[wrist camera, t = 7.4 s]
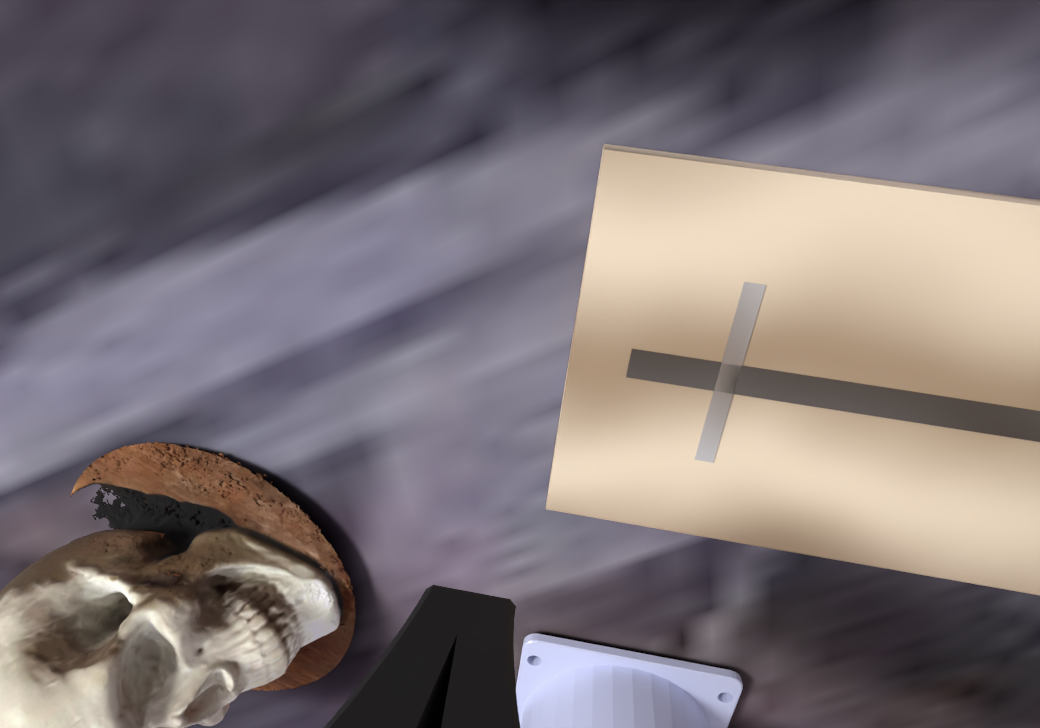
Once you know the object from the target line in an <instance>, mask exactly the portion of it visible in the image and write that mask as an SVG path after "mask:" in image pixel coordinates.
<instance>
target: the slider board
mask: <svg viewBox="0 0 1040 728" xmlns="http://www.w3.org/2000/svg"><path fill="white" fill-rule="evenodd" d="M546 509H548V510H554V511H560V512H565V513H571V514H577V515H582V516H588V517H594V518H600V519H605V520H611V521H617V522H623V523H628V524H634V525H640V526H646V527H651V528H657V529H663V530H668V531H674V532H680V533H686V534H691V535H697V536H703V537H709V538H714V539H720V540H726V541H731V542H737V543H743V544H749V545H754V546H760V547H766V548H772V549H777V550H783V551H789V552H795V553H800V554H806V555H812V556H817V557H823V558H829V559H835V560H840V561H846V562H852V563H858V564H863V565H869V566H875V567H880V568H886V569H892V570H898V571H903V572H909V573H915V574H921V575H926V576H932V577H938V578H944V579H949V580H955V581H961V582H966V583H972V584H978V585H984V586H989V587H995V588H1001V589H1007V590H1012V591H1018V592H1024V593H1029V594H1035V595H1040V200H1037V199H1029V198H1021V197H1013V196H1006V195H998V194H990V193H982V192H975V191H967V190H959V189H951V188H944V187H936V186H928V185H920V184H912V183H905V182H897V181H889V180H881V179H874V178H866V177H858V176H850V175H843V174H835V173H827V172H819V171H812V170H804V169H796V168H788V167H781V166H773V165H765V164H757V163H749V162H742V161H734V160H726V159H718V158H711V157H703V156H695V155H687V154H680V153H672V152H664V151H656V150H649V149H641V148H633V147H625V146H617V145H610V144H604V146H603V152H602V159H601V165H600V171H599V177H598V183H597V190H596V196H595V202H594V208H593V214H592V220H591V227H590V233H589V239H588V245H587V251H586V258H585V264H584V270H583V276H582V282H581V289H580V295H579V301H578V307H577V313H576V319H575V326H574V332H573V338H572V344H571V350H570V357H569V363H568V369H567V375H566V381H565V388H564V394H563V400H562V406H561V412H560V418H559V425H558V431H557V437H556V443H555V449H554V456H553V462H552V468H551V475H550V482H549V489H548V496H547V503H546Z"/></svg>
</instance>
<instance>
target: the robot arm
mask: <svg viewBox="0 0 1040 728" xmlns="http://www.w3.org/2000/svg"><path fill="white" fill-rule="evenodd" d="M515 608H516V606H515V605H514V604H513V602H512V601H511V600H510V599H506V598H500V597H495V596H489V595H484V594H479V593H473V592H468V591H463V590H457V589H452V588H447V587H441V586H436V585H433V586H431V587H429V588H427V589H426V590H425V592H424V594H423V595H422V597H421V599H420V600H419V602H418V604H417V605H416V607H415V608H414V610H413V612H412V613H411V615H410V616H409V618H408V619H407V621H406V622H405V624H404V625H403V627H402V628H401V630H400V631H399V632H398V634H397V635H396V637H395V638H394V640H393V641H392V642H391V644H390V645H389V646H388V648H387V649H386V651H385V652H384V653H383V655H382V656H381V657H380V659H379V660H378V661H377V663H376V664H375V665H374V667H373V668H372V669H371V670H370V672H369V673H368V674H367V675H366V677H365V678H364V679H363V681H362V682H361V683H360V684H359V686H358V687H357V688H356V690H355V691H354V692H353V693H352V695H351V696H350V697H349V698H348V700H347V701H346V702H345V703H344V705H343V706H342V707H341V708H340V710H339V711H338V712H337V713H336V714H335V716H334V717H333V718H332V719H331V720H330V721H329V723H328V724H327V725H326V726H325V727H324V728H727V727H728V725H729V722H730V720H731V717H732V715H733V712H734V710H735V707H736V705H737V702H738V700H739V697H740V695H741V692H742V690H743V684H742V680H741V677H740V675H739V674H738V673H736V672H735V671H732V670H728V669H723V668H717V667H712V666H707V665H701V664H696V663H691V662H686V661H680V660H675V659H670V658H665V657H659V656H654V655H649V654H644V653H638V652H633V651H628V650H622V649H617V648H612V647H607V646H601V645H596V644H591V643H586V642H580V641H575V640H570V639H565V638H559V637H554V636H549V635H543V634H537V633H533V634H530V635H528V636H526V637H525V639H524V642H523V648H522V654H521V660H520V666H519V673H518V679H517V685H516V686H515V671H514V651H513V631H514V615H515ZM534 656H537V657H534Z"/></svg>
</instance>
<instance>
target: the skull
mask: <svg viewBox="0 0 1040 728" xmlns="http://www.w3.org/2000/svg"><path fill="white" fill-rule="evenodd" d="M146 443H147V444H139V445H137V444H135V445H130V446H128V447H127V446H124V447H123V448H122V447H121V448H120V449H117V450H114V451H112V452H109V453H107V454H105V455H103V456H102V457H100V458H99V459H97V460H96V461H94V462H93V463H92V464H91V465H89V466H88V468H86V470H85V471H84V473H82V475H81V476H80V477H79V479H78V481H77V482H76V484H75V486H74V488H73V491H72V493H71V494H72V495H73V494H74V493H75V492H77V491H78V490H80V489H81V488H84V487H86V486H88V485H91V484H95V483H96V484H99V485H101V486H102V487H101V488H103V490H104V491H105V492H107V493H108V492H109V493H110V492H111V490H113V492H114V493H112V492H111V493H112V494H113V495H114V496H115V495H118V496H120V497H121V498H119V497H118V496H116V497H117V499H115V500H113V505H110V504H109V503H108V504H106V502H102V500H103V499H102V498H104V495H103V494H105V493H102V491H100V490H101V488H100V490H98V492H96V493H97V495H98V496H96V498H94V499H95V501H94V503H95V504H99V507H98V508H97V509H98V510H96V509H95V511H96V512H97V513H96V514H95V515H93V517H94V516H96V517H98V518H99V519H101V518H103V517H104V518H107V519H108V520H109V524H110V525H109V526H110V528H113V530H105V531H100V532H95V533H92V534H90V535H87V536H83V537H81V538H78V539H75V540H74V541H72V542H70V543H69V544H67V545H65V546H62V547H60V548H58V549H56V550H54V551H52V552H51V553H49V554H47V555H45V556H44V557H42V558H41V559H40V560H38V561H37V562H35V563H34V564H32V565H31V566H29V567H28V568H26V569H25V570H24V571H23V572H21V573H20V574H19V575H18V576H17V577H15V578H14V579H13V580H12V581H11V582H10V583H9V584H8V585H7V586H5V587H4V588H3V590H2V591H1V592H0V728H184V727H188V726H191V725H194V724H201V725H203V726H213V725H215V724H217V723H219V722H220V721H221V720H222V719H223V717H224V714H225V713H226V712H227V710H228V709H229V706H230V702H232V701H233V700H235V699H236V697H237V696H238V695H239V694H240V693H241V692H244V691H247V690H249V689H251V690H258V691H259V690H264V691H269V690H271V691H272V690H281V689H283V690H284V689H289V688H290V689H292V688H293V689H294V688H296V687H299V686H303V685H304V684H305V685H306V684H307V685H308V684H309V683H311V682H314V681H316V680H319V679H320V678H322V677H323V676H326V675H327V674H328V673H329V672H330V671H331V670H333V669H334V668H335V667H336V666H337V665H338V664H339V662H340V661H341V660H342V658H343V657H344V655H345V654H346V652H347V650H348V648H349V646H350V643H351V640H352V637H353V632H354V626H355V611H356V609H355V596H354V597H353V593H352V590H353V587H352V585H351V582H350V578H349V576H348V574H347V572H345V570H344V567H343V564H342V562H341V560H340V558H338V557H337V553H336V552H335V551H334V548H333V547H332V545H331V544H330V543H329V542H328V541H327V540H326V539H325V537H324V536H323V535H322V534H321V529H319V528H318V525H315V524H314V523H313V522H312V521H311V520H310V519H309V518H310V517H309V518H308V514H306V513H304V512H303V511H302V509H300V508H299V505H296V504H294V503H292V502H291V500H290V499H289V497H288V496H287V497H286V496H285V495H283V493H282V492H279V491H278V489H277V488H276V487H273V486H272V483H273V482H269V483H268V482H267V481H266V480H263V477H262V475H261V474H260V473H256V474H257V475H254V474H253V473H251V471H250V470H248V469H247V468H244V467H241V465H240V462H238V463H237V464H239V465H240V466H239V465H237V464H236V463H234V462H231V461H230V460H229V459H227V458H225V459H226V460H225V459H224V456H223V454H222V453H219V455H220V456H221V457H219V456H218V455H216V454H214V453H213V455H212V454H211V453H210V452H204V451H200V450H198V448H196V449H192V448H189V446H186V445H185V446H186V447H187V448H186V447H181V446H179V445H175V444H165V443H158V442H153V443H155V444H152V443H150V442H146ZM193 448H194V447H193ZM142 459H143V460H142ZM171 459H172V460H171ZM186 462H187V463H186ZM263 476H264V477H267V476H266V475H265V474H264V475H263ZM100 478H101V480H100ZM94 479H96V480H94ZM106 488H109V489H106ZM286 494H288V493H286ZM72 495H71V496H70V497H72ZM108 495H109V494H108ZM257 495H258V496H257ZM92 500H93V499H91V501H90V502H92V503H93V501H92ZM107 502H108V500H107ZM121 502H123V504H125V506H123V507H120V506H121V505H120V504H121ZM293 502H294V501H293ZM104 504H105V505H104ZM102 514H103V515H102ZM106 515H107V517H106ZM94 519H95V520H96V518H95V517H94ZM313 531H314V532H313ZM296 682H297V683H296Z"/></svg>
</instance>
